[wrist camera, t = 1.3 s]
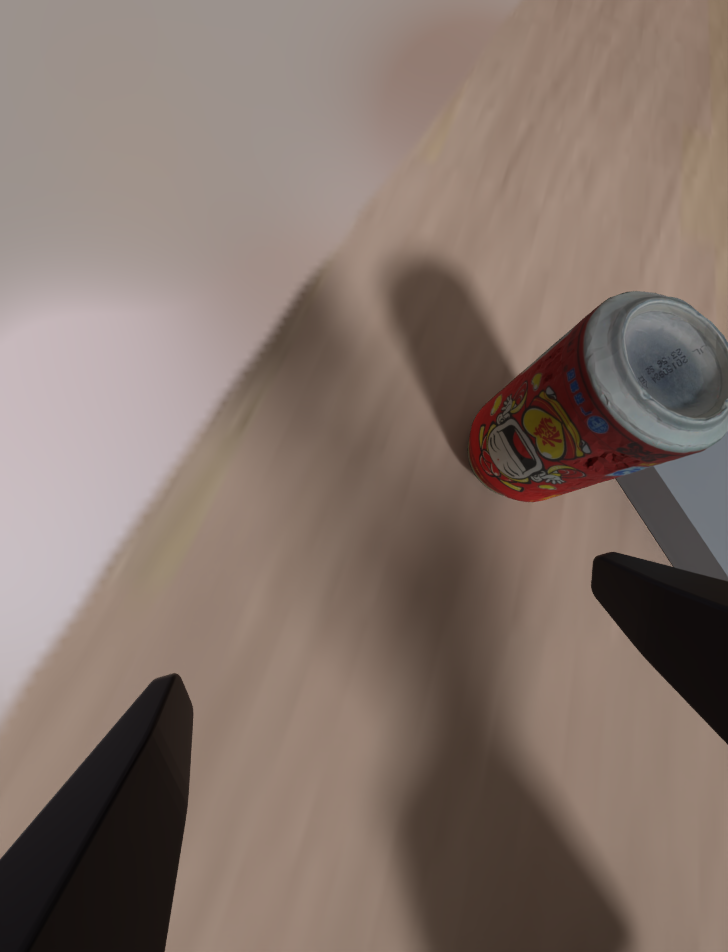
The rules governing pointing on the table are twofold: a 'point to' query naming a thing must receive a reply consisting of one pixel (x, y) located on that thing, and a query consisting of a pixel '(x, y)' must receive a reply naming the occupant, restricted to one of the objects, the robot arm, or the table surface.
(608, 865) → the table surface
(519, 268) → the table surface
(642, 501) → the slate tray
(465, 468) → the table surface
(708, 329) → the soda can
